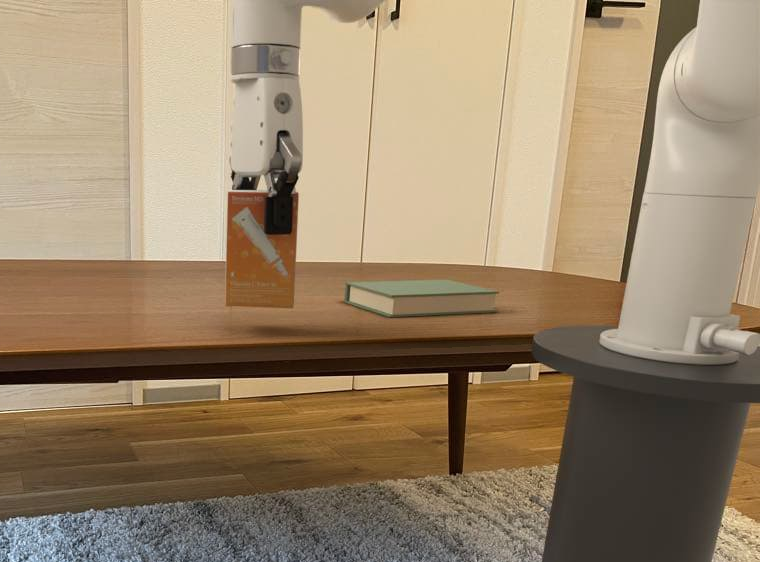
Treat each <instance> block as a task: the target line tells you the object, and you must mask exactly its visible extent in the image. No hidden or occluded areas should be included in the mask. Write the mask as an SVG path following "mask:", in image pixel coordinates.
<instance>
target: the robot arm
mask: <svg viewBox="0 0 760 562" xmlns="http://www.w3.org/2000/svg"><path fill="white" fill-rule="evenodd" d="M385 1H386V0H231V45H230V47H231V48H230V83H232V84H234V92H233V101H232V114H231V126H230V127H231V129H230V156H229V161H228V162H229V166H230V171H231V173H230V179H231V182H232V184H231V190H258V187H259V183H260V180H261V176H263V178H264V181H265V182H264V183H265V186H266V190H268V194H269V197H265V212H264V233H265V234H267V235H285V234H291V233H292V219H293V197H294V196H295V193H296V192H297V191H296V186H297V183H298V180H299V174H300V173H301V171H302V169H303V162H304V161H303V158H304V157H303V156H304V121H303V102H302V101H303V100H302V92H301V84H300V69H301V45H302V44H301V42H302V41H301V40H302V19H303V18H302V17H303V8H304V7H311V8H313V9H315V10H318V11H320V12H321V13H322V14H323V15H324V16H325V17H326V18H328V19H329V20H331V21H333V22H335V23H338V24H351V23H356V22H359V21H361V20H363V19H364V18H367V17H368V16H370V15H371V14H372V13H373V12H374V11H375V10H376V9H378V8H379V7H381V5H382V4H383V3H384V2H385ZM649 157H650V158H649V162H648V163H649V164H648V170H647V175H646V178H645V179H646V181H645V186H644V190H643V194H642V199H641V205H640V210H639V214H638V219H637V220H638V221H637V225H636V231H635V237H634V241H633V248H632V251H631V258H630V264H629V269H628V274H627V279H626V283H625V290H624V294H623V295H624V296H623V299H622V305H621V311H620V316H619V320H618V321H619V322H618V325H617V326H618V329H611V330H606V331H604V332H602V333H601V334H600V341H599V343H600V344H601V345H602V346H603V347H605V348H607V349H609V350H612V351H614V352H618V353H621V354H625V355H629V356H633V357H638V358H643V359H648V360H654V361H661V362H669V363H678V364H690V365H725V364H731V363H734V362H736V361H737V360H738V358H739V354H740V353H742V354H746V355H751V354H752V353H754V352H755V350H756V349H757V347H758V346H760V333H759V332H753V331H748V330H741V329H740V327H739V324H740V320H741V315H737V314H732V313H731V311H732V306H733V302H734V297H735V294H736V289H737V284H738V280H739V275H740V271H741V266H742V262H743V258H744V254H745V249H746V245H747V241H748V236H749V231H750V228H751V223H752V220H753V214H754V210H755V206H756V201H757V198H758V195H759V190H760V0H699V5H698V15H697V22H696V26H695V27H694V28H692V29H691V30H690V31H689V32H688V33H687V34H686V35H684V36H683V38H682V39H681V40H680V41H679V42H678V43H677V45H676V46H675V47H674V49H673V50H672V51H671V53H670V55H669V57H668V59H667V61H666V63H665V65H664V68H663V70H662V74H661V76H660V80H659V85H658V90H657V97H656V108H655V116H654V129H653V137H652V144H651V151H650V156H649Z"/></svg>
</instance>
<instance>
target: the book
mask: <svg viewBox="0 0 760 562" xmlns="http://www.w3.org/2000/svg"><path fill="white" fill-rule="evenodd" d="M497 294H500V291H499V290H495V289H491V288H487V287H482V286H478V285H477V286H476V285H471V284H468V283H464V282H460V281H454V280H450V279H444V278H443V279H442V278H441V279H440V278H439V279H411V280H409V279H408V280H375V281H372V280H371V281H368V280H367V281H345V289H344V301H343V303H346V304H348V305H350V306H355V307H357V308H360V309H363V310H367V311H370V312H371V313H376V314H378V315H382V316H384V317H387V318H404V317H405V318H406V317H425V316H426V317H429V316H447V315H448V316H449V315H467V314H469V315H470V314H489V313H490V314H491V313H492V314H493V313H497V310H496V309H495V304H496V296H497Z"/></svg>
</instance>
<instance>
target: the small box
mask: <svg viewBox="0 0 760 562" xmlns="http://www.w3.org/2000/svg"><path fill="white" fill-rule="evenodd" d="M265 197H269V194H268V190H267V189H265V190H263V189H257V190H232V189H229V190H228V191H227V197H226V198H227V199H226V202H227V203H226V230H225V231H226V232H225V233H226V235H225V282H224V283H225V291H224V292H225V293H224V306H225V307H244V308H245V307H246V308H247V307H248V308H269V309H270V308H271V309H288V310H289V309H294V305H295V290H296V268H297V250H298V249H297V248H298V247H297V245H298V226H299V225H298V224H299V204H300V203H299V200H300V198H299V197H300V193H299V192H298V191H296V193H295V196H294V197H293V219H292V233H291V234H285V235H267V234H265V233H264V212H265Z"/></svg>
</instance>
